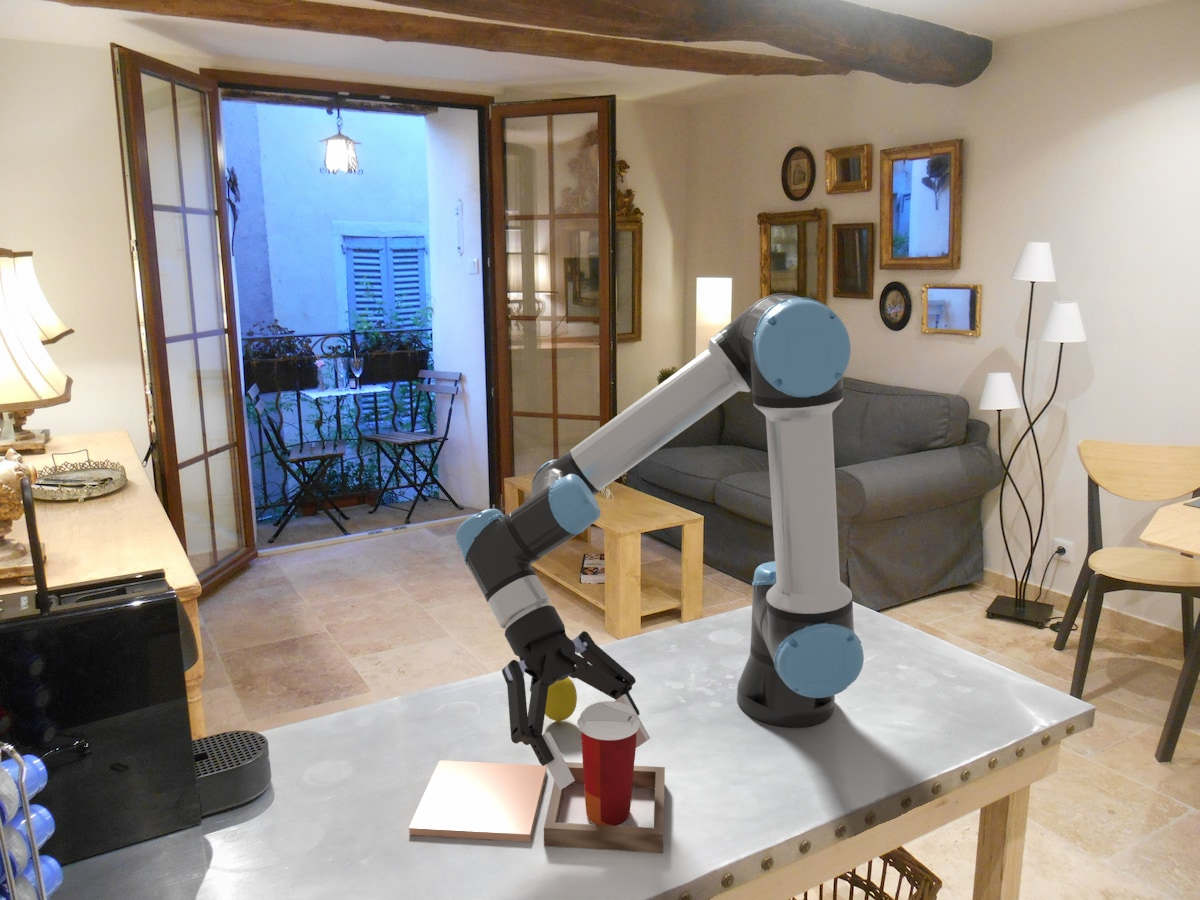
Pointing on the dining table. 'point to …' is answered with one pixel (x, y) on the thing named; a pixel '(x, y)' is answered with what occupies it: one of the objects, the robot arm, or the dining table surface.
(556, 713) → the lemon
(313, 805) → the dining table surface
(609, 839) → the walnut frame
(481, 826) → the terracotta tile
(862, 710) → the dining table surface
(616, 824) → the paper cup
